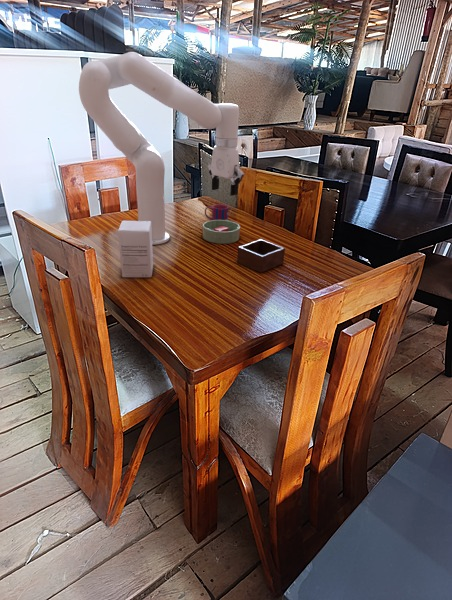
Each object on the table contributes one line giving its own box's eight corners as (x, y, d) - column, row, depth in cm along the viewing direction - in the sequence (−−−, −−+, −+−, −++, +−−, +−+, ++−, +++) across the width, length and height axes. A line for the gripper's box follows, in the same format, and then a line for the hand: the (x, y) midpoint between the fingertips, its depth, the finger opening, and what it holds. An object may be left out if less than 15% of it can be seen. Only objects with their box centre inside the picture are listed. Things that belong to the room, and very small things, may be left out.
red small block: (219, 238, 151) (219, 230, 150) (213, 235, 153) (213, 228, 152) (228, 235, 154) (229, 228, 153) (222, 233, 156) (222, 225, 155)
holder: (260, 273, 127) (262, 256, 124) (236, 262, 133) (237, 246, 131) (283, 263, 134) (285, 248, 132) (259, 254, 141) (260, 239, 138)
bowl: (220, 246, 145) (221, 234, 143) (194, 235, 154) (195, 224, 152) (246, 238, 154) (247, 226, 152) (221, 228, 163) (221, 217, 161)
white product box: (125, 265, 127) (121, 219, 120) (153, 265, 128) (151, 220, 121) (121, 277, 119) (117, 230, 112) (151, 278, 120) (149, 230, 113)
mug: (225, 226, 165) (226, 209, 162) (202, 222, 168) (202, 206, 164) (229, 221, 171) (230, 205, 168) (207, 218, 173) (207, 202, 170)
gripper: (201, 140, 142) (201, 188, 150) (237, 147, 132) (234, 199, 140) (216, 139, 147) (215, 186, 155) (252, 145, 136) (248, 195, 145)
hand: (224, 192), depth 148 cm, fingers open, 9 cm apart
